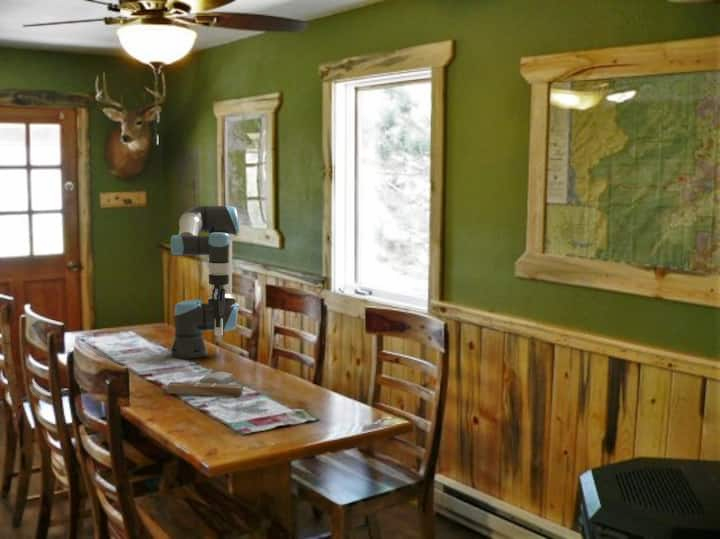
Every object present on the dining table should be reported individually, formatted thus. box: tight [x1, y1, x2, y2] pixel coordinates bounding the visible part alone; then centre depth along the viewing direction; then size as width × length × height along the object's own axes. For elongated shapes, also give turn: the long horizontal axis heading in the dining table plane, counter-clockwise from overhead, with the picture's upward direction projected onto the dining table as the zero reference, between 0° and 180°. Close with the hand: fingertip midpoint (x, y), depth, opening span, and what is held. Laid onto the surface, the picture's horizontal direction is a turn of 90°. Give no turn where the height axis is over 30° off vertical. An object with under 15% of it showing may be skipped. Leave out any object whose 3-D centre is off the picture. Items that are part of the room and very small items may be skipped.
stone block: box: [199, 371, 234, 384], centre depth 291 cm, size 12×5×10 cm
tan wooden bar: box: [166, 381, 244, 397], centre depth 278 cm, size 4×26×3 cm, turn 88°
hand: (218, 335), depth 298 cm, fingers closed
